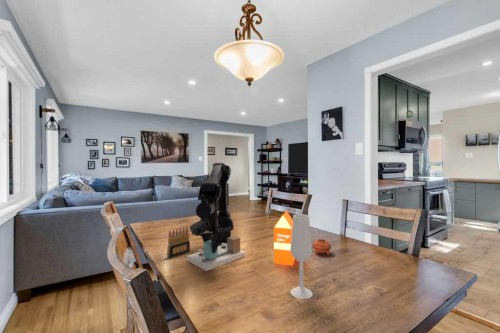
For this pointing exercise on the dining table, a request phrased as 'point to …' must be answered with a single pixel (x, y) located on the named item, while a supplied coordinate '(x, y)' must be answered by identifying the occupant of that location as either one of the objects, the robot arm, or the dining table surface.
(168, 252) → the ammunition clip
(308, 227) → the champagne flute
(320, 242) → the pot
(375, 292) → the dining table surface
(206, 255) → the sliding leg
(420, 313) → the dining table surface
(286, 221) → the orange juice
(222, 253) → the white base plate
